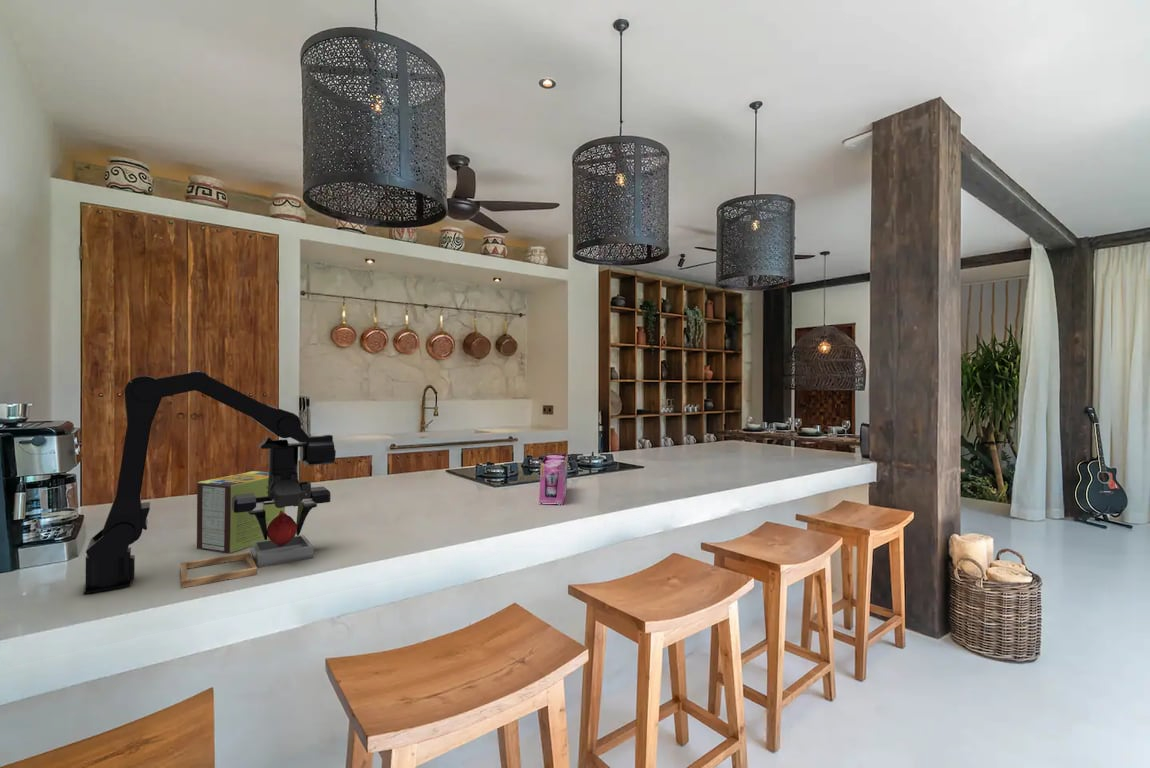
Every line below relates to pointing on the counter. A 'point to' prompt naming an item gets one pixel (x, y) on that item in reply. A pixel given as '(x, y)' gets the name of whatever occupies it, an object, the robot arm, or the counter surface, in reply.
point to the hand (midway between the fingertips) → (281, 537)
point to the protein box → (230, 512)
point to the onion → (281, 529)
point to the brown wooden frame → (217, 577)
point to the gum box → (553, 478)
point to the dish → (281, 551)
